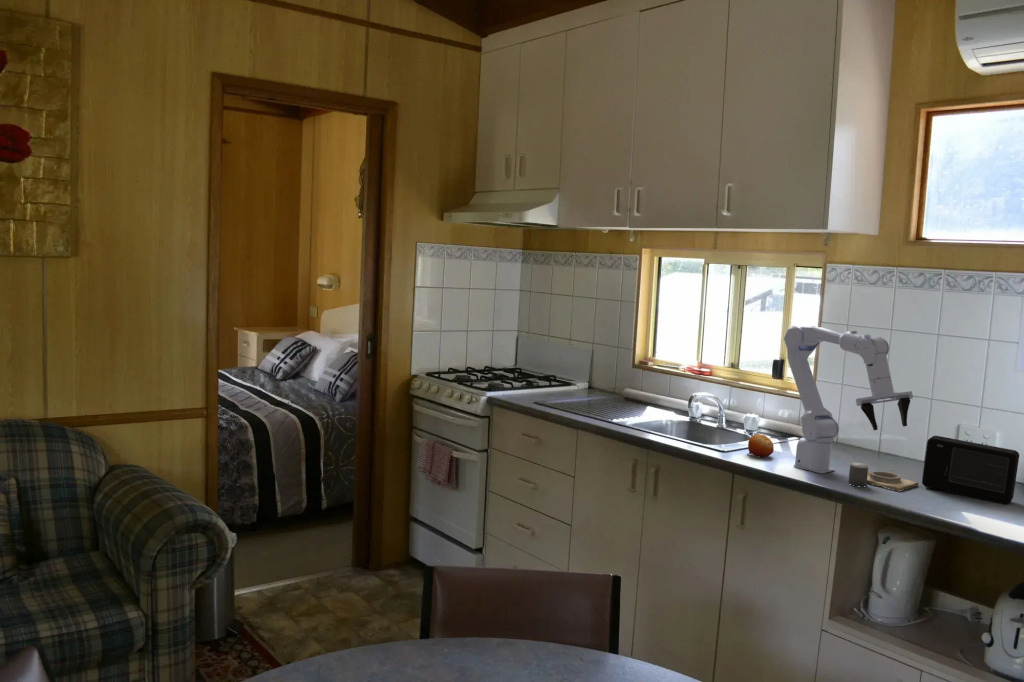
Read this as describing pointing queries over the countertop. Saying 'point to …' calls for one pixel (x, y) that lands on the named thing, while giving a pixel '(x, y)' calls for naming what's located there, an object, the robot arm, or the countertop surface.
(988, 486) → the black box
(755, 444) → the fruit
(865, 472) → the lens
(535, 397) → the countertop surface
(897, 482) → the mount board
